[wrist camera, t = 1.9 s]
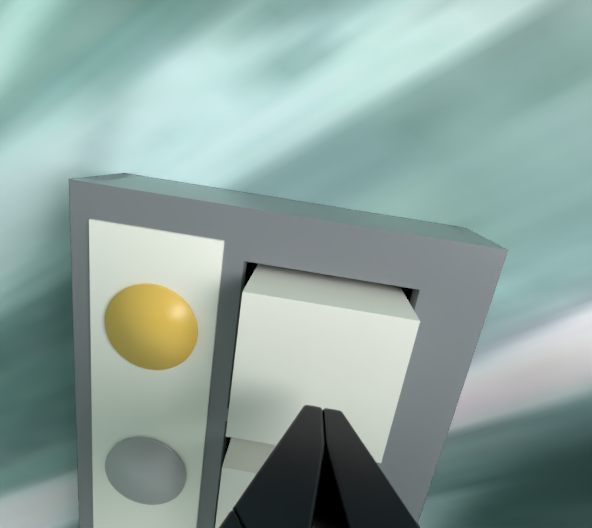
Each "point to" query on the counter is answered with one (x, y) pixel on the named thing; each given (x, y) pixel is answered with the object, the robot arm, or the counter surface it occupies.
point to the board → (224, 328)
